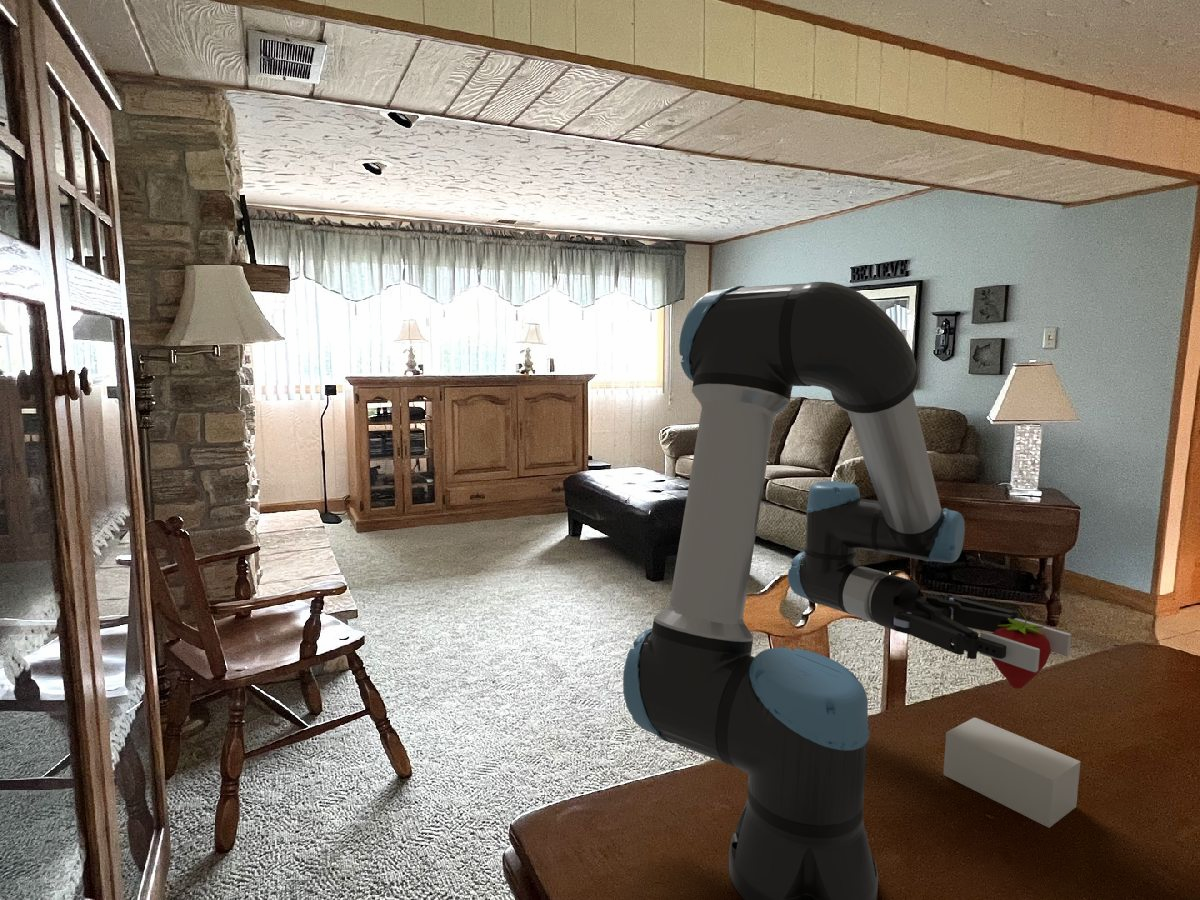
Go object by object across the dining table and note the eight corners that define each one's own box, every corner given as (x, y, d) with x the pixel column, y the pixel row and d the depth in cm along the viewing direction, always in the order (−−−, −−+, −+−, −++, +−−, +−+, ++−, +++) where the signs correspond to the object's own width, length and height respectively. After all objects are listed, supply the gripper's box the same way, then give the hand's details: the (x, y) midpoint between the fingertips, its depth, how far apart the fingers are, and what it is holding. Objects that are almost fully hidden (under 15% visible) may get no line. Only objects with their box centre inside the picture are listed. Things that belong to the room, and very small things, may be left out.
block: (1049, 827, 84) (1053, 780, 83) (943, 774, 95) (946, 732, 94) (1076, 807, 88) (1080, 761, 87) (971, 758, 99) (974, 717, 98)
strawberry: (972, 680, 92) (978, 605, 90) (1021, 674, 93) (1027, 600, 92) (1008, 702, 86) (1015, 622, 85) (1060, 695, 88) (1067, 616, 86)
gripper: (922, 610, 110) (1088, 662, 92) (838, 639, 99) (1008, 705, 80) (925, 562, 109) (1093, 606, 91) (840, 586, 98) (1013, 641, 79)
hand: (1053, 652), depth 86 cm, fingers closed on strawberry, 7 cm apart
